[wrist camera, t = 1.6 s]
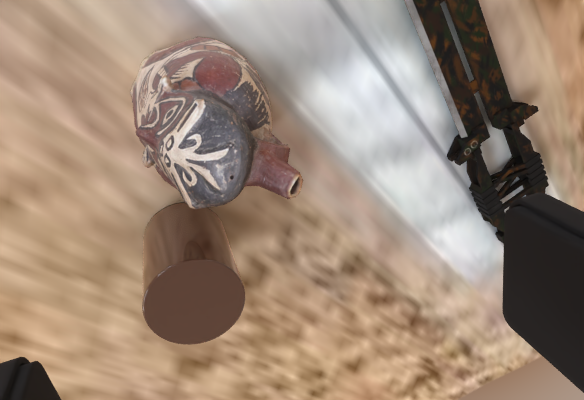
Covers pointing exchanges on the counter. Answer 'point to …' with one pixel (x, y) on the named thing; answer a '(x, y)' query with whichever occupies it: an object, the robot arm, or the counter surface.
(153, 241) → the glossy brown cylinder
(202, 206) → the figurine
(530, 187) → the dark flat slotted piece
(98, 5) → the counter surface
